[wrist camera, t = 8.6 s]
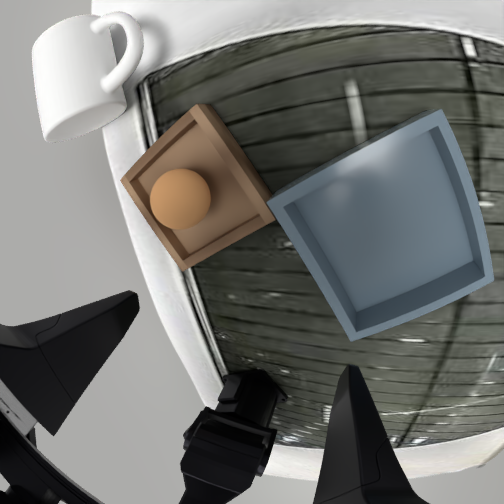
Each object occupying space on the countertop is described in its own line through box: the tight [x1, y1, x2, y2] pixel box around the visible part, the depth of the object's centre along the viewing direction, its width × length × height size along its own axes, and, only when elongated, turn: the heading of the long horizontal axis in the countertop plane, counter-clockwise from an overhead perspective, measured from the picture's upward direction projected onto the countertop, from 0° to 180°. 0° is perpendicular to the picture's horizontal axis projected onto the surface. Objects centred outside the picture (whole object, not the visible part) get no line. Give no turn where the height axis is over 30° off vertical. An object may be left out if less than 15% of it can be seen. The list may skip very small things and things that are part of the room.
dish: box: [266, 109, 494, 341], centre depth 17 cm, size 13×13×3 cm
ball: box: [150, 169, 211, 230], centre depth 19 cm, size 4×4×4 cm
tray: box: [120, 104, 277, 272], centre depth 21 cm, size 10×10×2 cm
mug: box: [32, 12, 144, 143], centre depth 16 cm, size 12×10×8 cm
